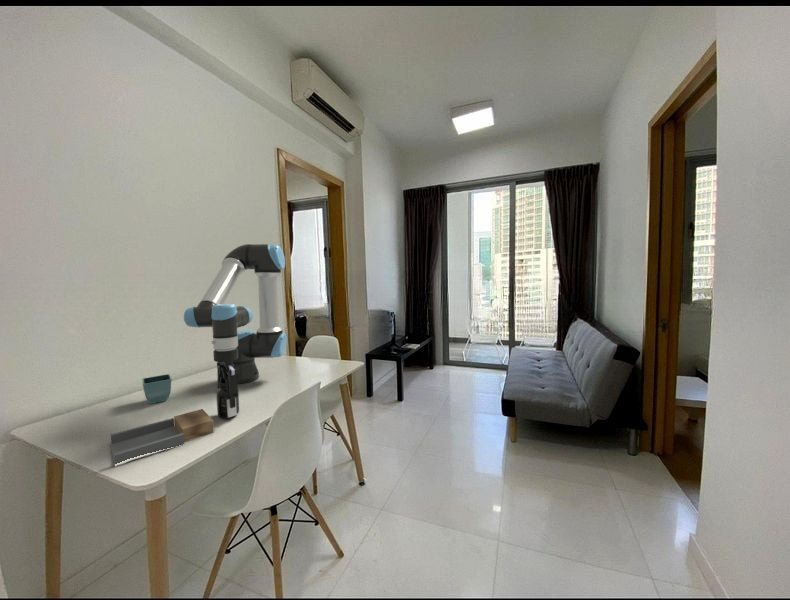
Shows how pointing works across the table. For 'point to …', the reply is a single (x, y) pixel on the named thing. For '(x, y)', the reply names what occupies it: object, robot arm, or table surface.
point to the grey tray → (145, 440)
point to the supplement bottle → (224, 400)
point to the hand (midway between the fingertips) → (228, 412)
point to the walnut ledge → (193, 424)
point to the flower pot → (157, 388)
